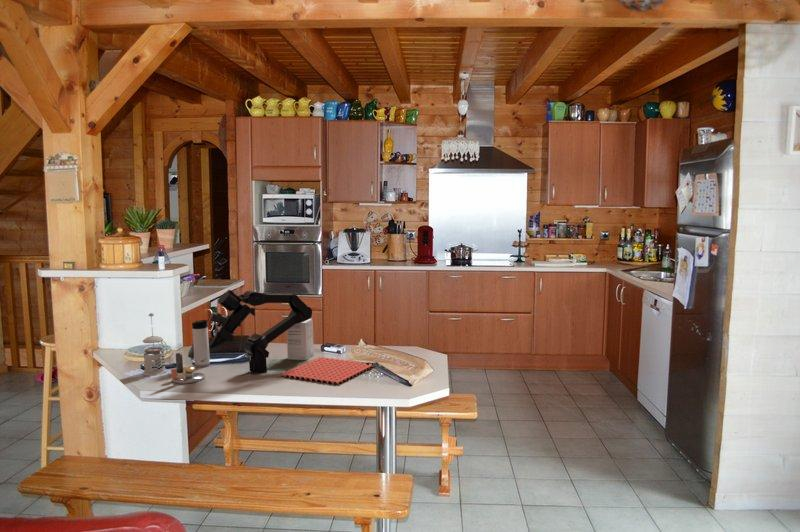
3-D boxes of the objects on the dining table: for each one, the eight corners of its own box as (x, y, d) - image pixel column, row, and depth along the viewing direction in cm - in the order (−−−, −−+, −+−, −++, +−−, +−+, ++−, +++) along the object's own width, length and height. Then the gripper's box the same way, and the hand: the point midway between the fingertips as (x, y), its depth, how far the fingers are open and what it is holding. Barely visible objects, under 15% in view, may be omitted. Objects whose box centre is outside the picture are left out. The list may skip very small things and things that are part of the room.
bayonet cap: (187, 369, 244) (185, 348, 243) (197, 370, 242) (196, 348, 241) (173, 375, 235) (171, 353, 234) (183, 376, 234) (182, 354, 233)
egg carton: (279, 378, 242) (279, 373, 242) (320, 361, 266) (320, 356, 266) (338, 387, 229) (338, 382, 228) (375, 368, 253) (375, 363, 253)
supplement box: (295, 354, 277) (293, 317, 275) (314, 354, 275) (312, 318, 273) (287, 359, 268) (285, 322, 266) (307, 360, 266) (305, 322, 264)
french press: (137, 374, 250) (132, 314, 247) (157, 366, 261) (154, 309, 258) (155, 376, 246) (151, 316, 244) (175, 368, 257) (172, 310, 254)
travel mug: (206, 367, 257) (203, 321, 255) (191, 367, 259) (188, 321, 256) (213, 363, 263) (210, 318, 261) (199, 363, 265) (196, 318, 263)
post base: (204, 373, 249) (203, 361, 248) (205, 381, 237) (205, 369, 237) (171, 377, 244) (171, 365, 244) (171, 385, 233) (171, 373, 233)
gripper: (220, 301, 250) (194, 330, 247) (222, 308, 232) (194, 339, 229) (241, 318, 253) (215, 347, 250) (245, 326, 235) (217, 357, 233)
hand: (210, 347), depth 241 cm, fingers closed
